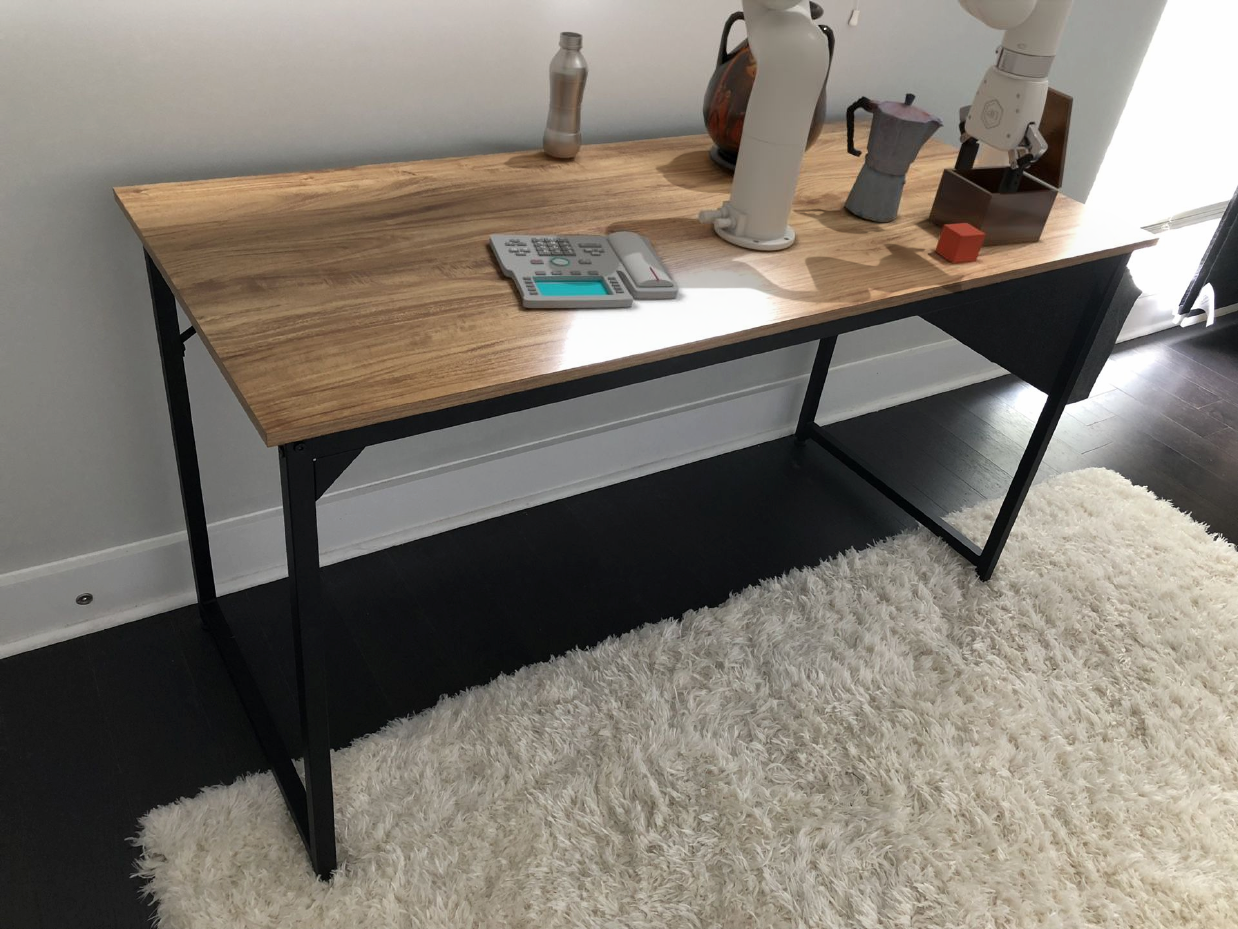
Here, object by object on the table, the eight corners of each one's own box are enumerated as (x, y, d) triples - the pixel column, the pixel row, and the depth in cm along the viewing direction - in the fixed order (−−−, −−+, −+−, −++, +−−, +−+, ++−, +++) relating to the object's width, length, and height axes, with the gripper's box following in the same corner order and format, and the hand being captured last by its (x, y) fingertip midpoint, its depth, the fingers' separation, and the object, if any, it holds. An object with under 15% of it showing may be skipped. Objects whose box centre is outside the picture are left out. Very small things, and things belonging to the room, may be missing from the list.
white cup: (1019, 199, 181) (1039, 146, 175) (985, 200, 178) (1005, 146, 172) (992, 183, 186) (1010, 131, 180) (959, 184, 184) (977, 131, 178)
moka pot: (914, 231, 161) (953, 108, 149) (822, 213, 163) (853, 90, 151) (912, 210, 169) (948, 92, 157) (824, 194, 170) (853, 76, 159)
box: (973, 247, 159) (991, 195, 153) (927, 218, 167) (944, 168, 162) (1038, 241, 164) (1058, 191, 159) (991, 214, 173) (1009, 165, 167)
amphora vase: (810, 158, 185) (848, -1, 169) (811, 198, 168) (854, 25, 152) (698, 139, 186) (725, -21, 170) (688, 177, 169) (717, 3, 153)
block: (952, 263, 152) (962, 236, 150) (934, 251, 155) (943, 224, 153) (976, 260, 154) (985, 234, 152) (957, 248, 157) (967, 222, 155)
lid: (1069, 99, 148) (1073, 97, 148) (1016, 76, 156) (1020, 74, 157) (1057, 189, 159) (1061, 187, 159) (1008, 163, 167) (1012, 161, 167)
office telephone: (646, 226, 143) (692, 289, 128) (644, 243, 144) (688, 307, 129) (489, 225, 136) (518, 291, 121) (488, 242, 138) (516, 310, 122)
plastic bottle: (537, 149, 171) (546, 28, 160) (574, 149, 173) (585, 30, 162) (546, 162, 167) (556, 38, 155) (584, 162, 169) (596, 40, 157)
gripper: (962, 47, 143) (928, 162, 153) (1048, 82, 130) (1005, 204, 140) (1000, 46, 145) (964, 159, 156) (1088, 80, 133) (1043, 201, 143)
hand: (984, 180), depth 148 cm, fingers open, 9 cm apart
